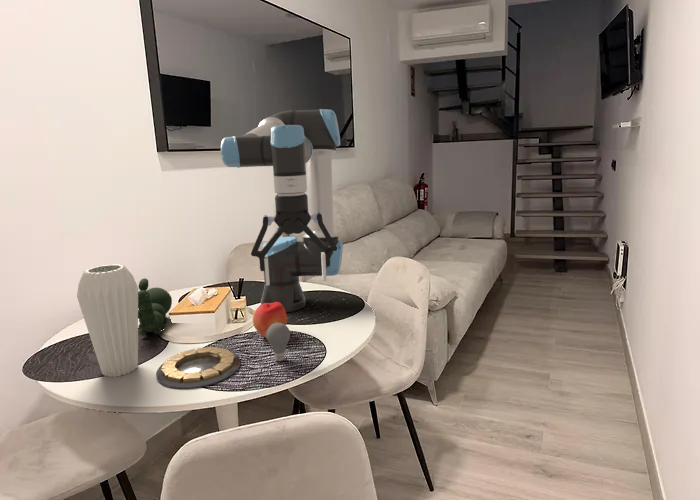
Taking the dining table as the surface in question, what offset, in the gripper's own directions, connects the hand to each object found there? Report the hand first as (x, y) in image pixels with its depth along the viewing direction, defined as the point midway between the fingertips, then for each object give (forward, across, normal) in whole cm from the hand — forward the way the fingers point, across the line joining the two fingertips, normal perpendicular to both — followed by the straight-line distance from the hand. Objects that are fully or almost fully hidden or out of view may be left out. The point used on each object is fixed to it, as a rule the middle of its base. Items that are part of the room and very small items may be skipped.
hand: (296, 281), depth 115 cm
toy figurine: (+22, -43, +34) cm, 59 cm away
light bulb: (+22, -5, +3) cm, 23 cm away
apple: (+22, -8, +19) cm, 30 cm away
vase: (+22, -45, +6) cm, 50 cm away
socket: (+21, -25, +2) cm, 33 cm away
